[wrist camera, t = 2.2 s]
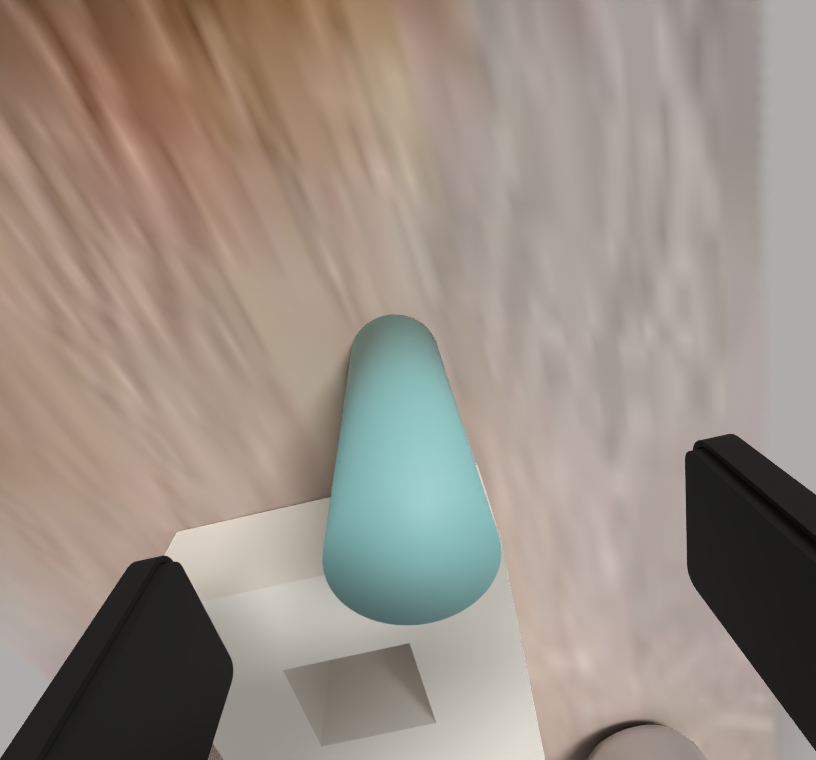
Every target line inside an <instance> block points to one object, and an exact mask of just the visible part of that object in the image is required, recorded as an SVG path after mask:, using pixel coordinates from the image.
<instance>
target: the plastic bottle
mask: <svg viewBox="0 0 816 760" xmlns="http://www.w3.org/2000/svg"><path fill="white" fill-rule="evenodd" d="M588 760H707V759H706V757H705V756H704V754H703V753H702V752H701V750H700V749H699V748H698V747H697V745H696V744H695V743H694V742H692V741H691V740H689V739H688V738H686V737H685V736H684V735H682V734H681V733H679V732H678V731H676V730H674V729H673V728H670V727H667V726H661V725H642V726H635V727H631V728H627V729H625V730H622V731H619V732H617V733H615V734H613V735H611V736H609V737H607V738H606V739H605V740H603V741H602V742H600V743H599V744H598V745H597V746H596V747H595V748H594V749H593V751H592V752H591V753H590V755H589V757H588Z"/></svg>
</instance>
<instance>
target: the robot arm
mask: <svg viewBox="0 0 816 760" xmlns="http://www.w3.org/2000/svg"><path fill="white" fill-rule="evenodd" d="M685 478H686V529H687V568H688V573H689V576H690V579H691V581H692V583H693V585H694V587H695V588H696V590H697V591H698V593H699V594H700V595H701V597H702V598H703V599H704V601H705V602H706V603H707V605H708V606H709V607H710V609H711V610H712V612H713V613H714V614H715V616H716V617H717V618H718V620H719V621H720V622H721V624H722V625H723V626H724V628H725V629H726V630H727V632H728V633H729V634H730V636H731V637H732V639H733V640H734V641H735V643H736V644H737V645H738V647H739V648H740V649H741V651H742V652H743V653H744V655H745V656H746V657H747V659H748V660H749V662H750V663H751V664H752V666H753V667H754V668H755V670H756V671H757V672H758V674H759V675H760V676H761V678H762V679H763V680H764V682H765V683H766V684H767V686H768V687H769V689H770V690H771V691H772V693H773V694H774V695H775V697H776V698H777V699H778V701H779V702H780V703H781V705H782V706H783V707H784V709H785V710H786V712H787V713H788V714H789V716H790V717H791V718H792V719H793V721H794V722H795V724H796V725H797V726H798V728H799V729H800V730H801V731H802V733H803V734H804V736H805V737H806V738H807V740H808V741H809V743H810V744H811V745H812V747H813V748H814V749H815V751H816V495H815V494H814V493H813V492H811V491H810V490H808V489H807V488H806V487H805V486H803V485H802V484H801V483H799V482H798V481H797V480H795V479H794V478H792V477H791V476H790V475H789V474H787V473H786V472H785V471H783V470H782V469H781V468H779V467H778V466H777V465H775V464H774V463H773V462H771V461H770V460H769V459H767V458H766V457H765V456H763V455H762V454H761V453H759V452H758V451H757V450H755V449H754V448H753V447H751V446H750V445H749V444H747V443H746V442H745V441H743V440H742V439H741V438H739V437H738V436H736V435H734V434H727V435H722V436H718V437H713V438H708V439H704V440H699V441H697V442H695V444H694V446H693V451H689V452H687V453H686V456H685ZM232 679H233V663H232V660H231V657H230V655H229V653H228V651H227V649H226V648H225V646H224V644H223V642H222V640H221V638H220V636H219V634H218V632H217V631H216V629H215V627H214V625H213V623H212V621H211V619H210V617H209V615H208V614H207V612H206V610H205V608H204V606H203V604H202V602H201V600H200V598H199V597H198V595H197V593H196V591H195V589H194V587H193V585H192V583H191V581H190V580H189V578H188V576H187V574H186V572H185V570H184V568H183V566H182V565H181V564H180V563H179V562H175V561H174V562H173V560H172V559H171V558H170V557H168V556H159V557H155V558H150V559H145V560H141V561H136V562H134V563H132V564H131V565H130V566H129V567H128V568H127V570H126V571H125V573H124V574H123V576H122V577H121V579H120V580H119V582H118V583H117V585H116V586H115V588H114V589H113V591H112V592H111V594H110V595H109V597H108V598H107V600H106V601H105V603H104V604H103V606H102V607H101V609H100V610H99V612H98V613H97V615H96V616H95V618H94V619H93V621H92V622H91V624H90V625H89V627H88V628H87V630H86V631H85V633H84V634H83V636H82V637H81V639H80V640H79V642H78V643H77V645H76V646H75V648H74V649H73V651H72V652H71V654H70V655H69V656H68V658H67V659H66V661H65V662H64V664H63V665H62V667H61V668H60V670H59V671H58V673H57V674H56V676H55V677H54V679H53V680H52V682H51V683H50V685H49V686H48V688H47V689H46V691H45V692H44V694H43V696H42V697H41V698H40V700H39V701H38V703H37V704H36V706H35V707H34V709H33V711H32V712H31V713H30V715H29V716H28V718H27V719H26V721H25V722H24V724H23V725H22V727H21V728H20V730H19V731H18V733H17V734H16V736H15V737H14V739H13V740H12V742H11V743H10V745H9V746H8V748H7V749H6V751H5V752H4V754H3V756H2V757H1V758H0V760H208V757H209V753H210V750H211V747H212V744H213V741H214V737H215V734H216V731H217V728H218V725H219V721H220V718H221V715H222V712H223V709H224V705H225V702H226V699H227V696H228V693H229V689H230V686H231V683H232Z"/></svg>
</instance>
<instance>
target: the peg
mask: <svg viewBox="0 0 816 760" xmlns="http://www.w3.org/2000/svg"><path fill="white" fill-rule="evenodd" d="M500 562H501V543H500V539H499V536H498V532H497V529H496V526H495V523H494V520H493V517H492V514H491V511H490V507H489V504H488V501H487V498H486V495H485V492H484V489H483V486H482V483H481V480H480V477H479V473H478V470H477V467H476V464H475V461H474V458H473V455H472V452H471V449H470V446H469V442H468V439H467V436H466V433H465V430H464V427H463V424H462V421H461V418H460V415H459V412H458V408H457V405H456V402H455V399H454V396H453V393H452V390H451V387H450V384H449V381H448V377H447V374H446V371H445V368H444V365H443V362H442V359H441V356H440V353H439V350H438V347H437V343H436V341H435V339H434V337H433V335H432V333H431V332H430V331H429V330H428V328H427V327H426V326H424V325H423V324H422V323H421V322H419V321H417V320H415V319H413V318H411V317H408V316H403V315H387V316H382V317H379V318H377V319H375V320H373V321H371V322H369V323H368V324H367V325H365V326H364V327H363V328H362V329H361V330H360V332H359V333H358V334H357V336H356V338H355V340H354V342H353V345H352V349H351V355H350V363H349V370H348V377H347V384H346V391H345V398H344V405H343V412H342V420H341V427H340V434H339V441H338V448H337V455H336V462H335V469H334V477H333V484H332V491H331V498H330V505H329V512H328V519H327V526H326V534H325V541H324V548H323V558H322V564H323V571H324V575H325V578H326V581H327V583H328V585H329V587H330V589H331V590H332V592H333V593H334V594H335V596H336V597H337V598H338V599H339V600H340V601H341V602H342V603H343V604H344V605H346V606H347V607H348V608H349V609H351V610H353V611H354V612H356V613H357V614H359V615H362V616H364V617H366V618H368V619H371V620H374V621H377V622H382V623H386V624H393V625H421V624H428V623H433V622H436V621H440V620H443V619H446V618H449V617H451V616H454V615H456V614H458V613H460V612H462V611H463V610H465V609H466V608H468V607H470V606H471V605H472V604H474V603H475V602H476V601H477V600H478V599H479V598H480V597H481V596H482V595H483V594H484V593H485V592H486V591H487V590H488V588H489V587H490V586H491V584H492V583H493V581H494V579H495V577H496V575H497V572H498V570H499V566H500Z"/></svg>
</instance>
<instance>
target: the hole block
mask: <svg viewBox="0 0 816 760" xmlns="http://www.w3.org/2000/svg"><path fill="white" fill-rule="evenodd" d="M476 467H477V470H478V473H479V477H480V480H481V483H482V486H483V489H484V492H485V495H486V498H487V501H488V504H489V507H490V511H491V514H492V517H493V520H494V523H495V526H496V529H497V532H498V536H499V539H500V543H501V562H500V566H499V570H498V572H497V575H496V577H495V579H494V581H493V583H492V584H491V586H490V587H489V588H488V590H487V591H486V592H485V593H484V594H483V595H482V596H481V597H480V598H479V599H478V600H477V601H476V602H475V603H474V604H472V605H471V606H470V607H468V608H466V609H465V610H463V611H462V612H460V613H458V614H456V615H454V616H451V617H449V618H446V619H443V620H440V621H436V622H433V623H428V624H421V625H393V624H386V623H382V622H377V621H374V620H371V619H368V618H366V617H364V616H362V615H359V614H357V613H356V612H354V611H353V610H351V609H349V608H348V607H347V606H346V605H344V604H343V603H342V602H341V601H340V600H339V599H338V598H337V597H336V596H335V594H334V593H333V592H332V590H331V589H330V587H329V585H328V583H327V581H326V578H325V575H324V571H323V564H322V558H323V548H324V541H325V534H326V526H327V519H328V512H329V505H330V498H331V497H328V498H324V499H319V500H315V501H311V502H306V503H302V504H297V505H293V506H289V507H284V508H280V509H275V510H271V511H267V512H262V513H258V514H253V515H249V516H245V517H240V518H236V519H231V520H227V521H223V522H218V523H214V524H210V525H205V526H201V527H196V528H192V529H188V530H183V531H179V532H177V533H176V535H175V537H174V538H173V540H172V542H171V544H170V546H169V548H168V549H167V551H166V553H165V555H164V556H168V557H170V558H171V559H172V560H173V562H174V561H175V562H179V563H180V564H181V565H182V566H183V568H184V570H185V572H186V574H187V576H188V578H189V580H190V581H191V583H192V585H193V587H194V589H195V591H196V593H197V595H198V597H199V598H200V600H201V602H202V604H203V606H204V608H205V610H206V612H207V614H208V615H209V617H210V619H211V621H212V623H213V625H214V627H215V629H216V631H217V632H218V634H219V636H220V638H221V640H222V642H223V644H224V646H225V648H226V649H227V651H228V653H229V655H230V657H231V660H232V663H233V679H232V683H231V686H230V689H229V693H228V696H227V699H226V702H225V705H224V709H223V712H222V715H221V718H220V721H219V725H218V728H217V731H216V734H215V737H214V741H213V745H214V746H215V748H216V749H217V751H218V752H219V754H220V755H221V757H222V758H223V760H545V757H544V752H543V747H542V742H541V737H540V732H539V727H538V722H537V717H536V712H535V707H534V702H533V697H532V692H531V687H530V681H529V676H528V671H527V666H526V661H525V656H524V651H523V646H522V641H521V636H520V631H519V626H518V621H517V616H516V611H515V606H514V601H513V596H512V591H511V586H510V581H509V576H508V571H507V566H506V561H505V556H504V551H503V546H502V541H501V536H500V533H499V530H498V527H497V524H496V521H495V518H494V515H493V511H492V508H491V505H490V502H489V499H488V496H487V493H486V490H485V487H484V484H483V481H482V478H481V475H480V472H479V469H478V466H477V464H476Z"/></svg>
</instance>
